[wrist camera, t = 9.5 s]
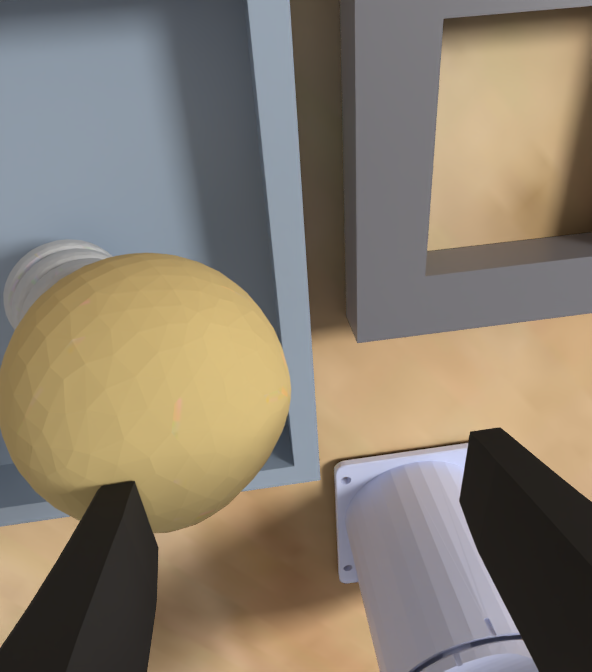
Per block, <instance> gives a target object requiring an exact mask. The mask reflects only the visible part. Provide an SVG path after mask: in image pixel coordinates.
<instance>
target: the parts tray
mask: <svg viewBox="0 0 592 672" xmlns="http://www.w3.org/2000/svg"><path fill="white" fill-rule="evenodd" d="M65 239H72V240H82V241H86V242H90V243H92V244H95V245H97V246H99V247H100V248H102V249H104V250H105V251H107V252H108V253H109V254H111V255H112V256H113V257H114V256H119V255H124V254H132V253H160V254H169V255H176V256H179V257H183V258H187V259H190V260H194V261H197V262H200V263H202V264H204V265H206V266H208V267H210V268H213V269H215V270H217V271H219V272H220V273H222V274H223V275H225V276H226V277H227V278H229V279H230V280H232V281H233V282H234V283H236V284H237V285H238V286H240V287H241V288H242V289H243V290H244V291H245V292H247V293H248V295H249V296H250V297H251V298H252V299H253V300H254V302H255V303H256V304H257V305H258V306H259V307H260V309H261V310H262V312H263V313H264V315H265V316H266V318H267V319H268V321H269V322H270V324H271V325H272V327H273V328H274V330H275V332H276V335H277V337H278V339H279V342H280V344H281V346H282V349H283V352H284V356H285V359H286V363H287V366H288V370H289V375H290V382H291V400H290V407H289V412H288V415H287V419H286V422H285V425H284V428H283V431H282V433H281V435H280V437H279V439H278V441H277V443H276V445H275V447H274V449H273V451H272V453H271V455H270V457H269V458H268V460H267V461H266V463H265V464H264V466H263V467H262V468H261V470H260V471H259V472H258V474H257V475H256V476H255V478H254V479H253V480H252V481H251V482H250V483H249V484H248V485H247V486H246V487H245V488H244V489H243V490H242V491H248V490H255V489H262V488H269V487H276V486H283V485H290V484H297V483H304V482H310V481H317V480H320V465H319V450H318V434H317V419H316V403H315V387H314V372H313V356H312V341H311V325H310V310H309V294H308V279H307V263H306V247H305V232H304V216H303V201H302V185H301V170H300V154H299V138H298V123H297V107H296V92H295V76H294V61H293V45H292V30H291V14H290V0H0V368H1V365H2V361H3V357H4V354H5V352H6V349H7V347H8V345H9V342H10V340H11V338H12V335H13V333H14V331H15V330H14V329H13V327H12V325H11V324H10V322H9V320H8V318H7V316H6V313H5V308H4V298H3V292H4V287H5V283H6V281H7V278H8V276H9V274H10V272H11V271H12V269H13V267H14V266H15V265H16V264H17V263H18V261H19V260H20V259H21V258H22V257H23V256H25V255H26V254H27V253H28V252H29V251H31V250H33V249H35V248H36V247H38V246H40V245H43V244H46V243H49V242H53V241H56V240H65ZM242 491H241V492H242ZM62 517H69V515H67V514H65V513H64V512H62V511H60V510H58V509H56V508H54V507H53V506H52V505H51V504H50V503H48V502H47V501H46V500H45V499H44V498H42V497H41V496H40V495H39V494H38V493H36V492H35V491H34V489H33V488H32V487H31V486H30V484H29V483H28V482H27V481H26V480H25V478H24V477H23V476H22V475H21V474H20V472H19V471H18V469H17V468H16V466H15V464H14V462H13V461H12V459H11V457H10V454H9V452H8V449H7V447H6V444H5V442H4V439H3V437H2V433H1V428H0V526H7V525H14V524H21V523H28V522H35V521H42V520H49V519H56V518H62Z"/></svg>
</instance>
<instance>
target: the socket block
mask: <svg viewBox="0 0 592 672" xmlns="http://www.w3.org/2000/svg"><path fill="white" fill-rule="evenodd" d="M584 6H592V0H340V38H341V87H342V136H343V185H344V233H345V282H346V317H347V319H348V322H349V324H350V327H351V329H352V331H353V334H354V336H355V339H356V341H357V343H362V342H370V341H378V340H385V339H393V338H401V337H409V336H417V335H424V334H432V333H440V332H448V331H456V330H464V329H471V328H479V327H487V326H495V325H503V324H511V323H518V322H526V321H534V320H542V319H550V318H557V317H565V316H573V315H581V314H589V313H592V232H589V233H581V234H572V235H564V236H555V237H547V238H538V239H530V240H521V241H512V242H504V243H495V244H487V245H478V246H470V247H461V248H453V249H444V250H435V251H427V244H428V230H429V216H430V202H431V187H432V173H433V159H434V145H435V131H436V117H437V103H438V89H439V75H440V61H441V47H442V33H443V19H445V18H457V17H468V16H480V15H491V14H503V13H515V12H526V11H538V10H550V9H561V8H573V7H584Z"/></svg>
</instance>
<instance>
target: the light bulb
mask: <svg viewBox="0 0 592 672" xmlns="http://www.w3.org/2000/svg"><path fill="white" fill-rule="evenodd" d="M3 298H4V308H5V313H6V316H7V318H8V320H9V322H10V324H11V325H12V327H13V329H14V330H15V331H14V333H13V335H12V338H11V340H10V342H9V345H8V347H7V349H6V352H5V354H4V357H3V361H2V365H1V368H0V428H1V433H2V437H3V439H4V442H5V444H6V447H7V449H8V452H9V454H10V457H11V459H12V461H13V462H14V464H15V466H16V468H17V469H18V471H19V472H20V474H21V475H22V476H23V477H24V478H25V480H26V481H27V482H28V483H29V484H30V486H31V487H32V488H33V489H34V491H35V492H36V493H38V494H39V495H40V496H41V497H42V498H44V499H45V500H46V501H47V502H48V503H50V504H51V505H52V506H53V507H54V508H56V509H58V510H60V511H62V512H64V513H65V514H67V515H69V516H71V517H73V518H75V519H77V520H81V519H82V517H83V515H84V513H85V512H86V510H87V508H88V506H89V505H90V503H91V501H92V499H93V497H94V496H95V494H96V492H97V490H98V489H99V488H100V487H101V486H103V485H110V484H116V483H123V482H130V481H135V483H136V486H137V489H138V492H139V495H140V497H141V500H142V503H143V506H144V509H145V512H146V514H147V517H148V520H149V523H150V526H151V529H152V531H153V533H168V532H172V531H176V530H180V529H183V528H186V527H189V526H193V525H196V524H198V523H199V522H201V521H203V520H205V519H207V518H208V517H210V516H212V515H213V514H215V513H216V512H218V511H219V510H221V509H222V508H224V507H225V506H226V505H228V504H229V503H230V502H231V501H232V500H233V499H234V498H235V497H236V496H237V495H238V494H239V493H240V492H241V491H242V490H243V489H244V488H245V487H246V486H247V485H248V484H249V483H250V482H251V481H252V480H253V479H254V478H255V476H256V475H257V474H258V472H259V471H260V470H261V468H262V467H263V466H264V464H265V463H266V461H267V460H268V458H269V457H270V455H271V453H272V451H273V449H274V447H275V445H276V443H277V441H278V439H279V437H280V435H281V433H282V431H283V428H284V425H285V422H286V419H287V415H288V412H289V407H290V400H291V382H290V375H289V370H288V366H287V363H286V359H285V356H284V352H283V349H282V346H281V344H280V342H279V339H278V337H277V335H276V332H275V330H274V328H273V327H272V325H271V324H270V322H269V321H268V319H267V318H266V316H265V315H264V313H263V312H262V310H261V309H260V307H259V306H258V305H257V304H256V303H255V302H254V300H253V299H252V298H251V297H250V296H249V295H248V293H247V292H245V291H244V290H243V289H242V288H241V287H240V286H238V285H237V284H236V283H234V282H233V281H232V280H230V279H229V278H227V277H226V276H225V275H223V274H222V273H220V272H219V271H217V270H215V269H213V268H210V267H208V266H206V265H204V264H202V263H200V262H197V261H194V260H190V259H187V258H183V257H179V256H176V255H169V254H160V253H132V254H124V255H119V256H114V257H113V256H112V255H111V254H109V253H108V252H107V251H105V250H104V249H102V248H100V247H99V246H97V245H95V244H92V243H90V242H86V241H82V240H72V239H65V240H56V241H53V242H49V243H46V244H43V245H40V246H38V247H36V248H35V249H33V250H31V251H29V252H28V253H27V254H26V255H25V256H23V257H22V258H21V259H20V260H19V261H18V263H17V264H16V265H15V266H14V267H13V269H12V271H11V272H10V274H9V276H8V278H7V281H6V283H5V287H4V292H3Z"/></svg>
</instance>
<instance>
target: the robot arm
mask: <svg viewBox="0 0 592 672" xmlns="http://www.w3.org/2000/svg"><path fill="white" fill-rule="evenodd" d="M344 477H347V478H344ZM334 482H335V505H336V528H337V551H338V574H339V579H340V581H341V582H342V583H354V582H358V583H359V587H360V591H361V595H362V599H363V603H364V608H365V612H366V616H367V620H368V624H369V628H370V633H371V637H372V641H373V645H374V649H375V653H376V657H377V662H378V666H379V670H380V672H592V502H591V501H590V500H588V499H587V498H586V497H585V496H583V495H582V494H581V493H579V492H578V491H577V490H576V489H575V488H573V487H572V486H571V485H570V484H568V483H567V482H566V481H565V480H563V479H562V478H561V477H560V476H558V475H557V474H556V473H555V472H554V471H552V470H551V469H550V468H549V467H548V466H546V465H545V464H544V463H543V462H541V461H540V460H539V459H538V458H537V457H535V456H534V455H533V454H532V453H531V452H529V451H528V450H527V449H526V448H525V447H523V446H522V445H521V444H520V443H519V442H517V441H516V440H515V439H514V438H513V437H511V436H510V435H509V434H508V433H506V432H505V431H504V430H503V429H502V428H493V429H486V430H479V431H472V432H470V436H469V442H468V443H464V444H457V445H450V446H443V447H436V448H429V449H422V450H415V451H408V452H401V453H394V454H387V455H380V456H373V457H366V458H359V459H352V460H345V461H341V462H339V463H337V464H336V465H335V467H334ZM157 578H158V546H157V543H156V540H155V537H154V534H153V531H152V529H151V526H150V523H149V520H148V517H147V514H146V512H145V509H144V506H143V503H142V500H141V497H140V495H139V492H138V489H137V486H136V483H135V481H130V482H123V483H116V484H110V485H103V486H101V487H100V488H99V489H98V490H97V492H96V494H95V496H94V497H93V499H92V501H91V503H90V505H89V506H88V508H87V510H86V512H85V513H84V515H83V517H82V519H81V520H80V522H79V524H78V526H77V528H76V529H75V531H74V533H73V534H72V536H71V538H70V540H69V541H68V543H67V545H66V546H65V548H64V550H63V551H62V553H61V555H60V556H59V558H58V560H57V561H56V563H55V565H54V566H53V568H52V569H51V571H50V573H49V574H48V576H47V577H46V579H45V581H44V582H43V584H42V586H41V587H40V589H39V590H38V592H37V594H36V595H35V597H34V598H33V600H32V602H31V603H30V605H29V606H28V608H27V609H26V611H25V612H24V614H23V615H22V617H21V618H20V620H19V621H18V623H17V624H16V626H15V627H14V629H13V630H12V631H11V633H10V634H9V636H8V637H7V639H6V640H5V642H4V643H3V645H2V646H1V648H0V672H147V667H148V660H149V653H150V646H151V639H152V632H153V625H154V618H155V610H156V602H157Z"/></svg>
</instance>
